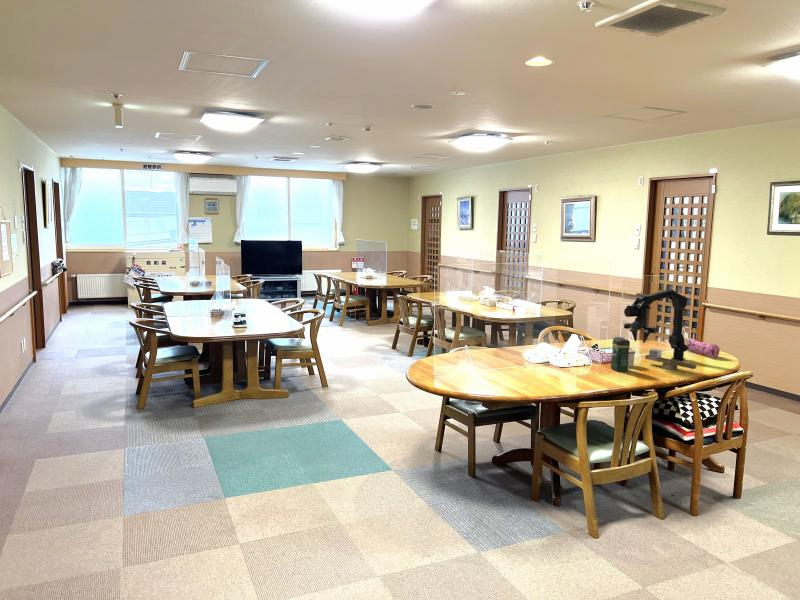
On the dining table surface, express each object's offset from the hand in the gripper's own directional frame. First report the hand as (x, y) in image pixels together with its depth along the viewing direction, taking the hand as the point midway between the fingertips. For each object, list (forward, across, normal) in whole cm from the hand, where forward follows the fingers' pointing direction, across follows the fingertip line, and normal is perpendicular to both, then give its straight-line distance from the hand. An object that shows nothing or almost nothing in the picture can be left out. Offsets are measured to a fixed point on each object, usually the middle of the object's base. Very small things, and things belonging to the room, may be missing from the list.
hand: (639, 342), depth 352 cm
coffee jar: (+12, +2, -26) cm, 29 cm away
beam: (+12, +19, 0) cm, 22 cm away
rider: (+9, +10, 0) cm, 13 cm away
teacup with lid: (+12, -1, -15) cm, 19 cm away
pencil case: (+12, +17, +50) cm, 54 cm away
